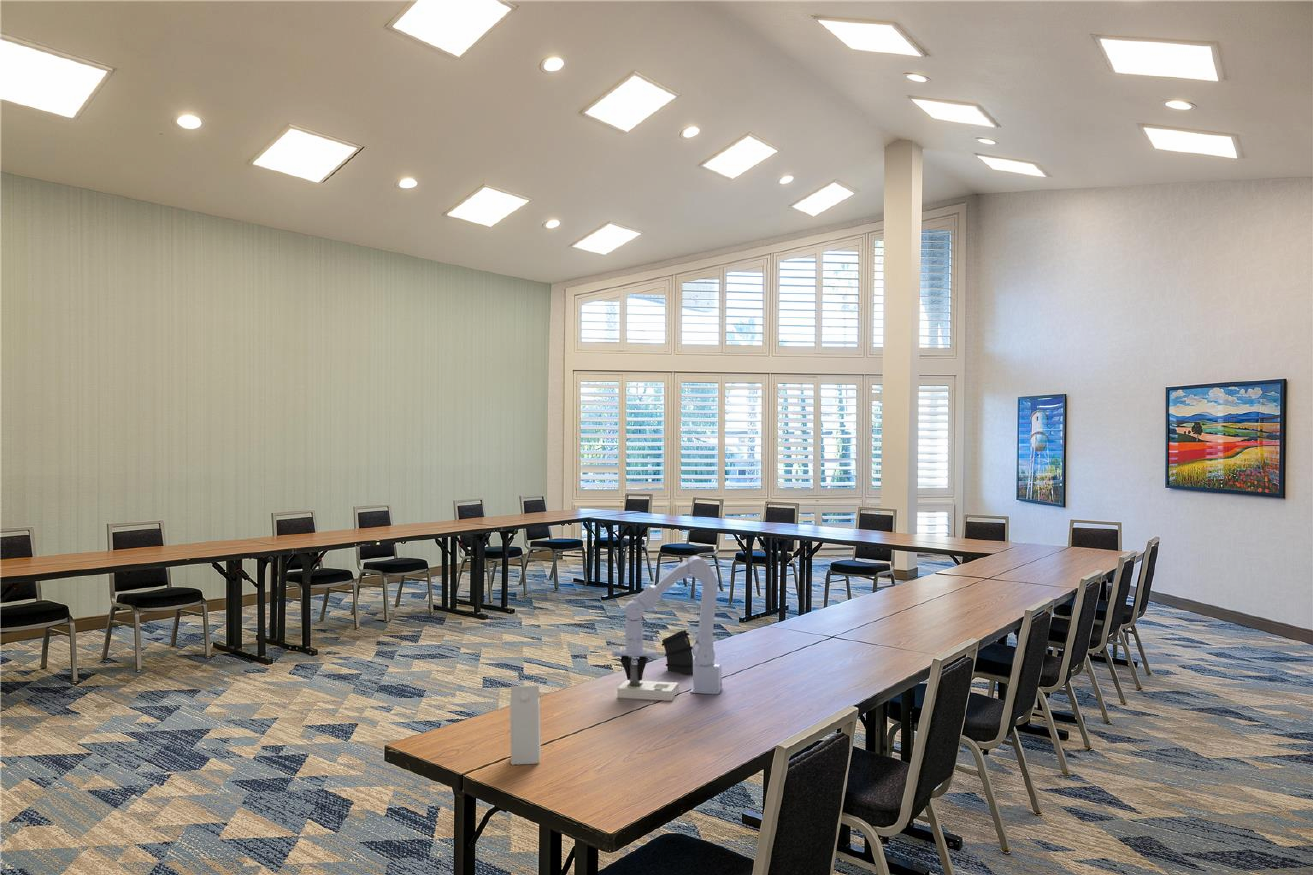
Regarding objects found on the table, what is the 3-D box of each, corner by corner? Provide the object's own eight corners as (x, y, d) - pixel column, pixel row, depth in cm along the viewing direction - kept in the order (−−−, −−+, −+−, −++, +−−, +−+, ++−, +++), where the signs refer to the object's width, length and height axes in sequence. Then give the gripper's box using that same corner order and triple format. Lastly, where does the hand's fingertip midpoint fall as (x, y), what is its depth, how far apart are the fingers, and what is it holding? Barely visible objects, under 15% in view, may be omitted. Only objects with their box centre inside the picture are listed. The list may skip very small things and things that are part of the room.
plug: (640, 684, 275) (640, 662, 276) (638, 686, 272) (637, 665, 272) (631, 683, 276) (630, 662, 276) (628, 686, 273) (628, 665, 273)
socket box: (678, 691, 276) (678, 681, 276) (671, 700, 266) (671, 690, 266) (626, 688, 280) (626, 678, 280) (617, 697, 271) (617, 687, 271)
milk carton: (513, 755, 220) (512, 683, 221) (540, 753, 221) (539, 681, 221) (511, 765, 213) (509, 690, 214) (539, 763, 214) (537, 689, 214)
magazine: (694, 672, 293) (680, 631, 298) (670, 682, 302) (657, 642, 307) (701, 670, 296) (687, 629, 301) (677, 680, 304) (664, 640, 309)
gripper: (609, 639, 273) (609, 681, 272) (652, 641, 269) (652, 683, 269) (615, 635, 279) (616, 675, 279) (657, 636, 276) (658, 678, 275)
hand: (634, 679), depth 274 cm, fingers closed on plug, 3 cm apart
